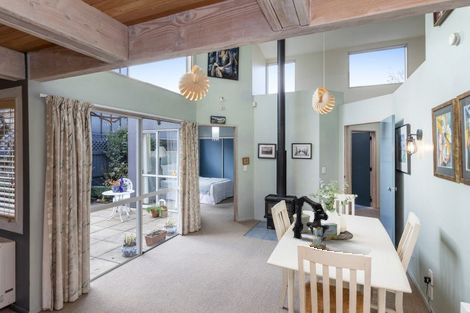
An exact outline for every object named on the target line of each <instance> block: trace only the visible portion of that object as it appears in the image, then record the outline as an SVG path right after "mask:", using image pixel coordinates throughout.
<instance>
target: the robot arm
mask: <svg viewBox="0 0 470 313" xmlns="http://www.w3.org/2000/svg"><path fill="white" fill-rule="evenodd" d="M305 203H306V204H308V205H309V206H310V207H311V208H312V213H313V220H312V221H309V222H308V223H307V224H306V226H308V227H309V230H310V232H311V234H312V235H314V229H315V228H317V227H322V228H323V229H322V236H324V233H325V231H326V230H327V229H329V225H321V224H322V220H323V221H324V222H325V221H328V219H329V215H328V214H327V212H326V211H325V209H324V207H323V205H322V203H320V202H316V201H314V200H312V199H311V198H309V197H308V196H307V195H302V196H300V197H298V198H295V199H294V205H295V207H296V213H295V214H296V222H295V224H294V223H293V224H294V226H293V228H292V232H293V238H294V239H297V240H298V239H301V238H303V237H302V233H301V231H302V230H303V224H302V222H301V219H302V212H303V210H302V209H303V207H304V204H305Z"/></svg>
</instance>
